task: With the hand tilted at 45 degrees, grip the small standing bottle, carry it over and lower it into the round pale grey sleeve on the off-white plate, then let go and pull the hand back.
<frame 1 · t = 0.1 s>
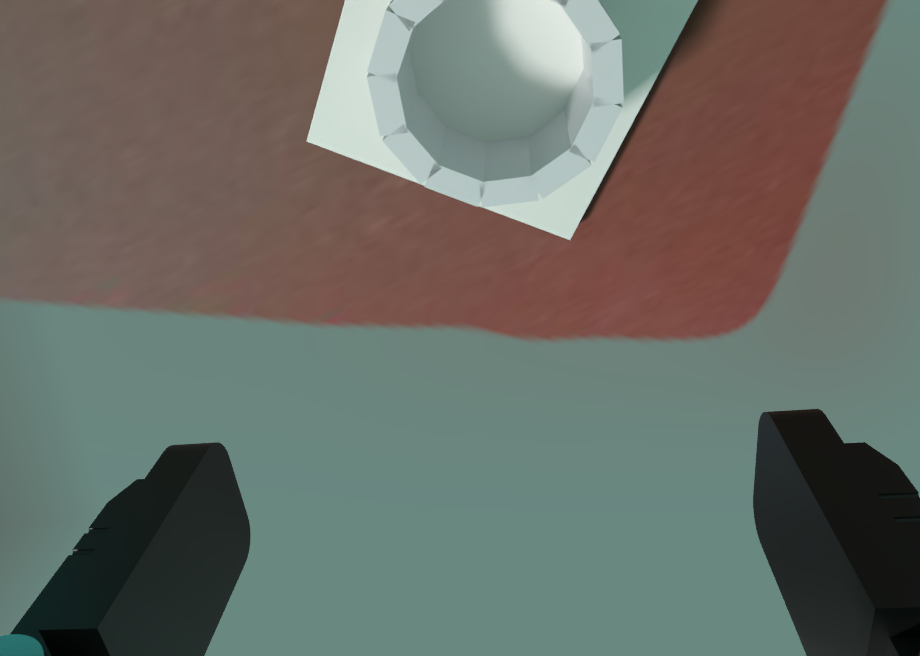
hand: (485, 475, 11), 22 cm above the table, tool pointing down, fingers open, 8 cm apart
sleeve holder: (496, 51, 29), on the table
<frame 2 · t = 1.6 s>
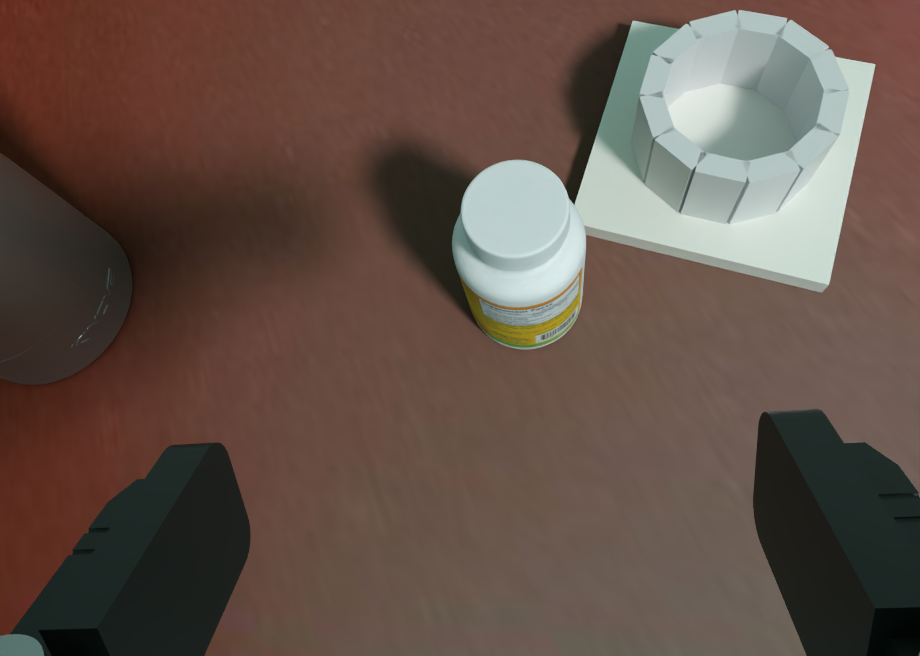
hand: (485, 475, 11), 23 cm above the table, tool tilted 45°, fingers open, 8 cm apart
supplement bottle: (525, 300, 36), on the table
sleeve holder: (719, 153, 37), on the table
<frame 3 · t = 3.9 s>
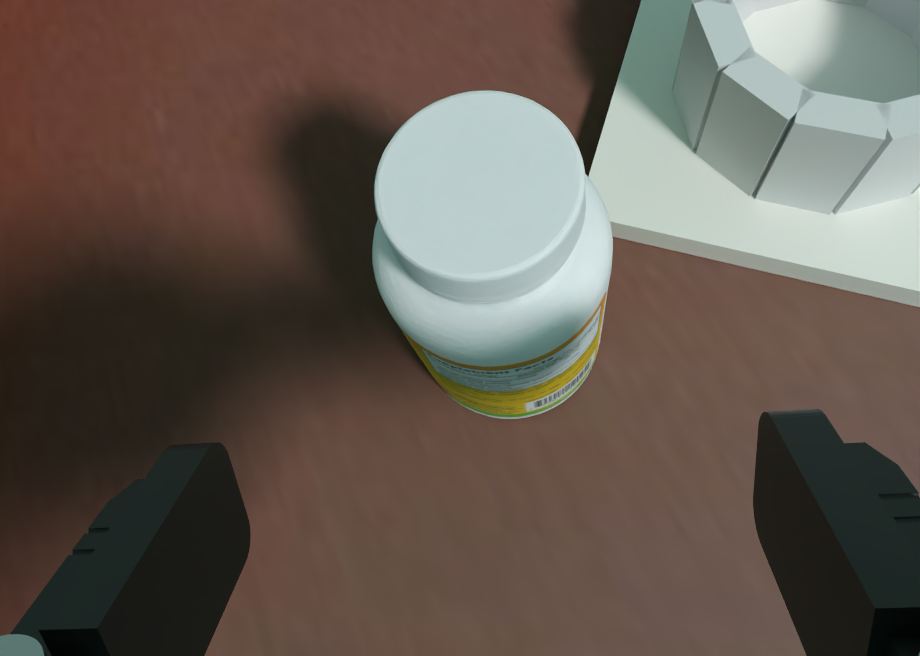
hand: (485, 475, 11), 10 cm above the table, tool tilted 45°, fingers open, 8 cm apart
supplement bottle: (510, 337, 23), on the table
sleeve holder: (807, 105, 24), on the table
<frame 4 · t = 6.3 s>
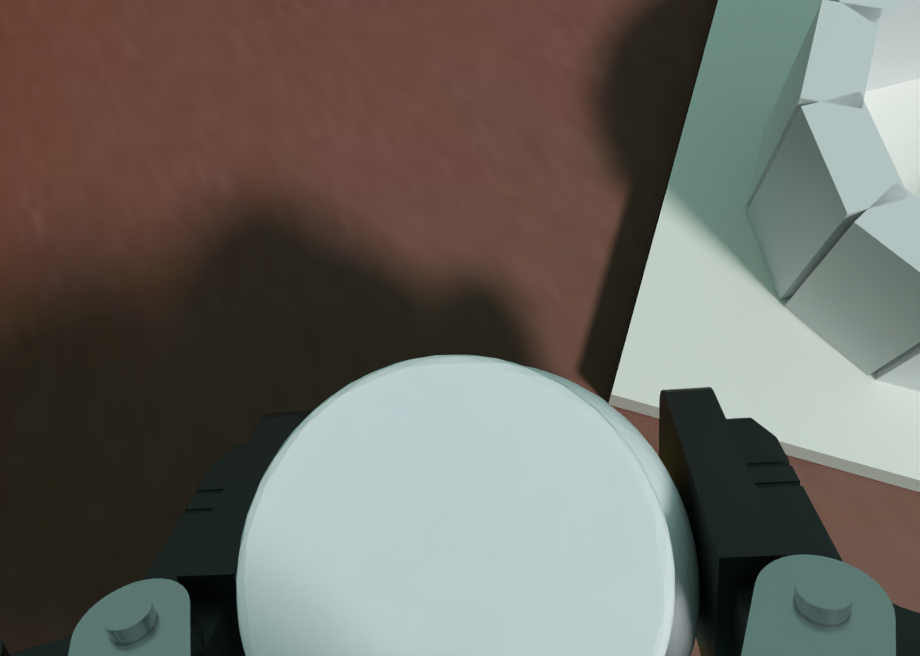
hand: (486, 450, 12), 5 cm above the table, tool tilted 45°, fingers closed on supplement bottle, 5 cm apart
supplement bottle: (513, 569, 16), on the table, touching gripper
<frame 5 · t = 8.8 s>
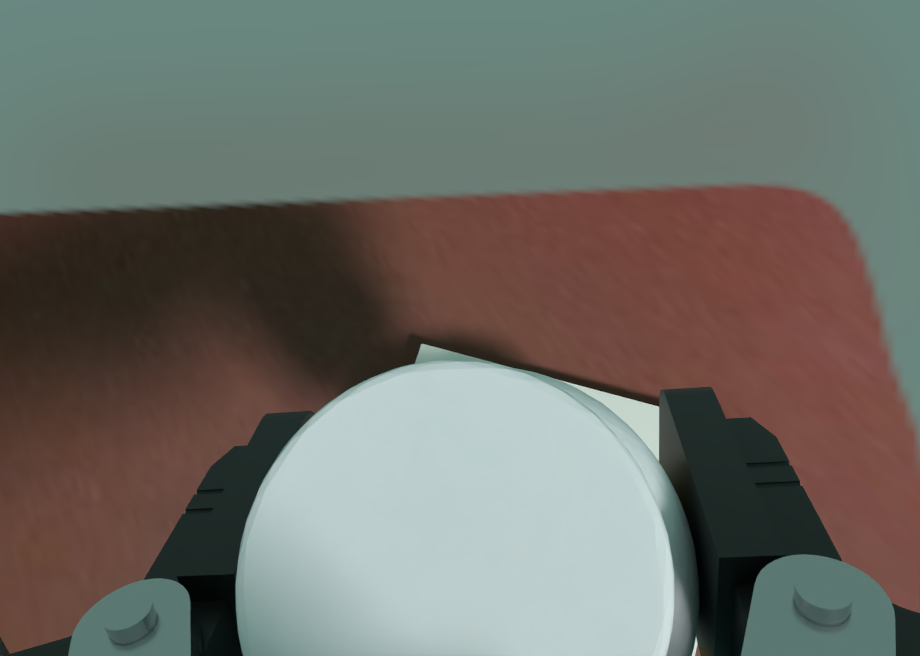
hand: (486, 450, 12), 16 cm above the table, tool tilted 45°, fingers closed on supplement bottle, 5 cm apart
supplement bottle: (513, 572, 16), point 11 cm above the table, touching gripper
sleeve holder: (531, 547, 27), on the table
when the fingers open (7 cm above the table, at t = 11.6 s): supplement bottle stays where it is, resting on sleeve holder.
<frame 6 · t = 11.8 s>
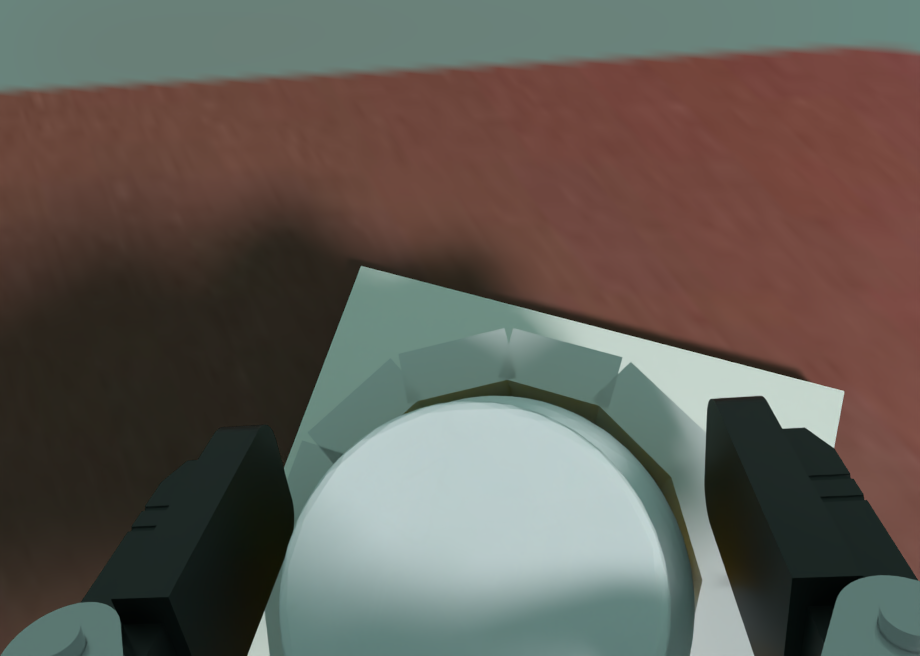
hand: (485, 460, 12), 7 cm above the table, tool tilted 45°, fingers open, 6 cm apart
supplement bottle: (520, 580, 17), point 1 cm above the table, touching sleeve holder
sleeve holder: (517, 569, 18), on the table
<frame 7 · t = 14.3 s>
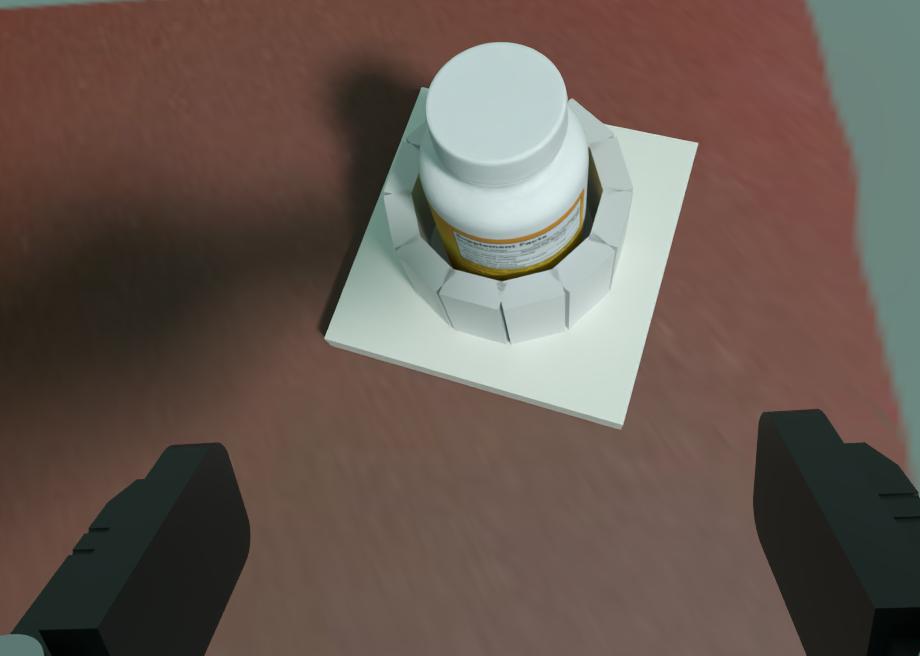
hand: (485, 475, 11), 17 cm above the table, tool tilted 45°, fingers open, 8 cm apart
supplement bottle: (515, 247, 30), point 1 cm above the table, touching sleeve holder
sleeve holder: (514, 250, 31), on the table
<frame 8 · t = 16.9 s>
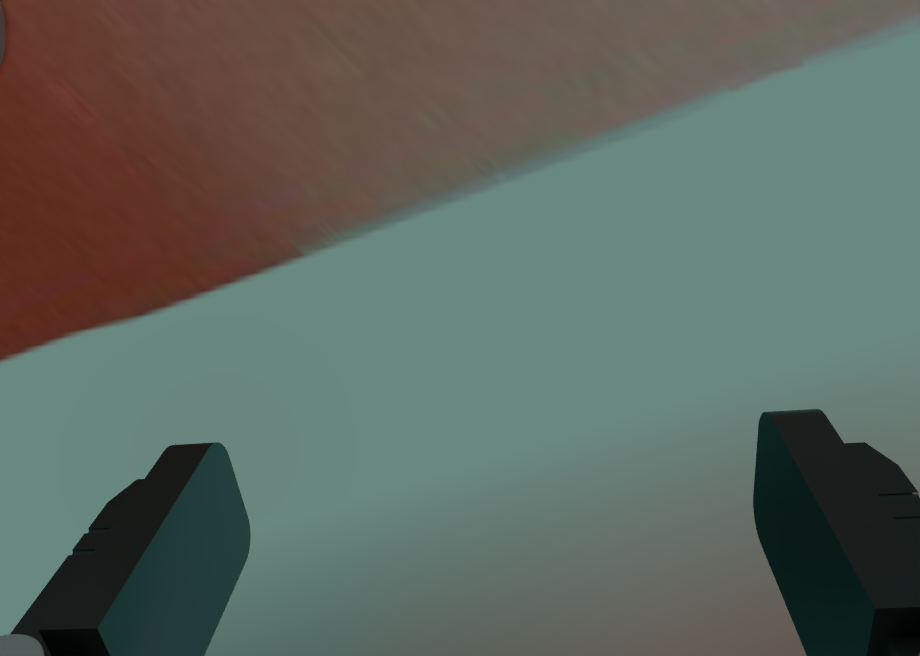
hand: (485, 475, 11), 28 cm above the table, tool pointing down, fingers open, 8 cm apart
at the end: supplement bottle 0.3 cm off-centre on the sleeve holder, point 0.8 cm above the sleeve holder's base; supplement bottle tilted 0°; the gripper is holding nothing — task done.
